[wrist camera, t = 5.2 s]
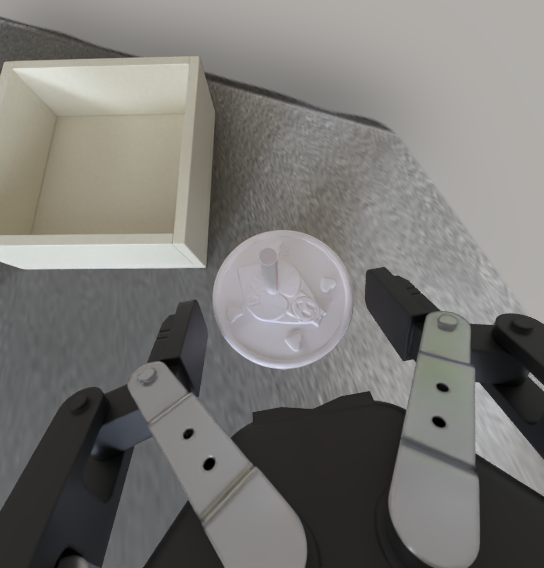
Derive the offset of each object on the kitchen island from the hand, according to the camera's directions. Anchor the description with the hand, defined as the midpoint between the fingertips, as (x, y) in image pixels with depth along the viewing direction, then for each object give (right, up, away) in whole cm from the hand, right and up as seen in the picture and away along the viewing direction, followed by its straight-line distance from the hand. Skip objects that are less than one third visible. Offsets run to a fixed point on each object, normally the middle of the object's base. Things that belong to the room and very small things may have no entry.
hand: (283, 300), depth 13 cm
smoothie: (0, -2, +9) cm, 9 cm away
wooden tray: (-14, +10, +12) cm, 21 cm away
